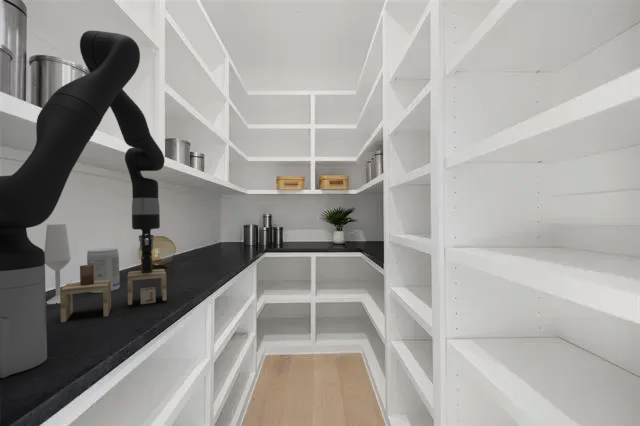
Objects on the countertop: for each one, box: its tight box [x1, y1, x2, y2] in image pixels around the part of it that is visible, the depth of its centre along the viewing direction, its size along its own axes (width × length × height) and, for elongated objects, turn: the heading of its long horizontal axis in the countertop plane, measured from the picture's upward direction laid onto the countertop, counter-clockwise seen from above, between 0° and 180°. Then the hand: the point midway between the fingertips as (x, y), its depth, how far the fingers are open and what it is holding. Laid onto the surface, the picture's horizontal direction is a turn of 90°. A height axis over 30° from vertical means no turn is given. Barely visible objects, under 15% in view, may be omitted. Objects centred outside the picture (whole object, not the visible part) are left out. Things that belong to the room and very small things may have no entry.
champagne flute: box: [43, 223, 71, 305], centre depth 107 cm, size 7×7×24 cm
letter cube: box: [139, 286, 157, 305], centre depth 104 cm, size 4×4×4 cm
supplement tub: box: [86, 247, 121, 294], centre depth 122 cm, size 10×10×15 cm
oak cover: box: [127, 255, 168, 306], centre depth 104 cm, size 10×10×13 cm
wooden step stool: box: [59, 264, 112, 323], centre depth 92 cm, size 10×10×13 cm
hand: (146, 270), depth 104 cm, fingers closed on oak cover, 3 cm apart
